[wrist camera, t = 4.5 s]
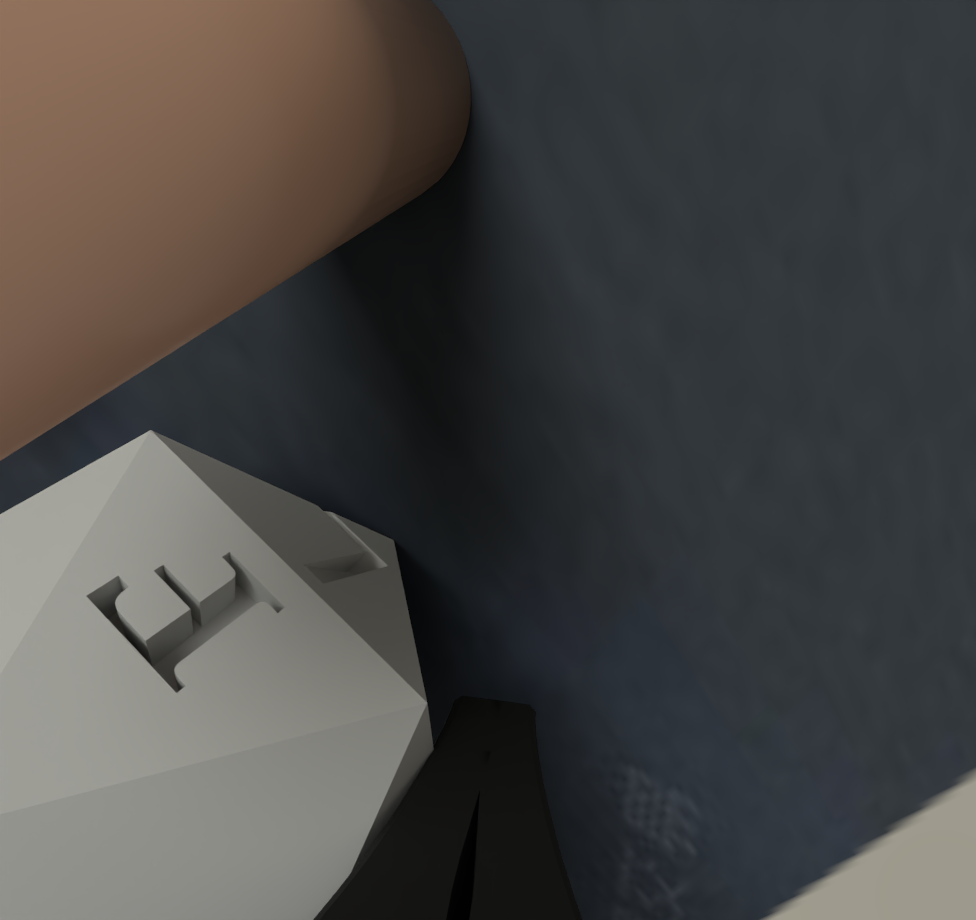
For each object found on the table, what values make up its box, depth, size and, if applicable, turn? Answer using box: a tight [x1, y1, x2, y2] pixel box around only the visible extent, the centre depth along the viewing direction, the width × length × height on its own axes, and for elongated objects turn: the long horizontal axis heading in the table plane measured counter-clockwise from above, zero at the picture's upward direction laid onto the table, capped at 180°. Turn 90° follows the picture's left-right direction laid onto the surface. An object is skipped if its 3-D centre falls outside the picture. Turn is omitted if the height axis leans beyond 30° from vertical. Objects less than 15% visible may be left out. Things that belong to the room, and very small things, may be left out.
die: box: [0, 430, 434, 920], centre depth 11 cm, size 8×9×10 cm
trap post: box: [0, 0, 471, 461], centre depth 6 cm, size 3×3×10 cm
